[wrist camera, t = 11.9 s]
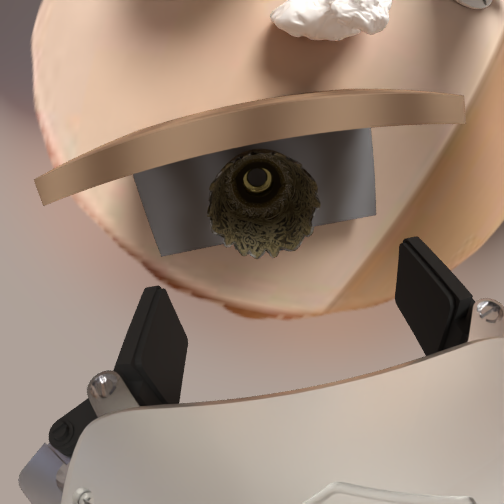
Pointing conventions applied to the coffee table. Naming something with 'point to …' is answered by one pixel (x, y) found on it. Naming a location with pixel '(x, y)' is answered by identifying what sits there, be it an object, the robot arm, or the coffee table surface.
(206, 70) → the coffee table surface
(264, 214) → the cup
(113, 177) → the board
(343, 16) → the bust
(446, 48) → the coffee table surface
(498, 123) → the coffee table surface
